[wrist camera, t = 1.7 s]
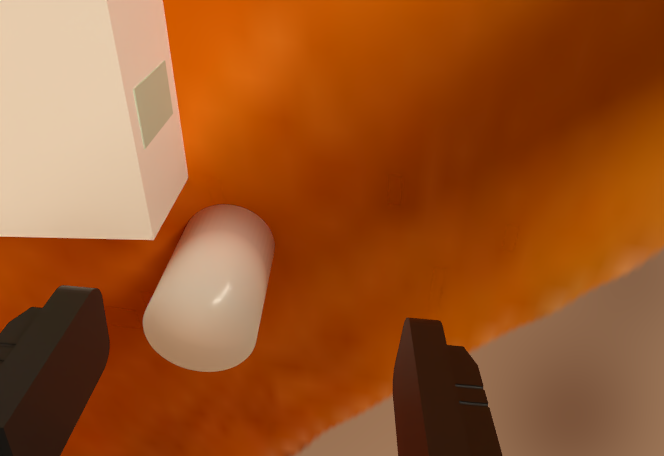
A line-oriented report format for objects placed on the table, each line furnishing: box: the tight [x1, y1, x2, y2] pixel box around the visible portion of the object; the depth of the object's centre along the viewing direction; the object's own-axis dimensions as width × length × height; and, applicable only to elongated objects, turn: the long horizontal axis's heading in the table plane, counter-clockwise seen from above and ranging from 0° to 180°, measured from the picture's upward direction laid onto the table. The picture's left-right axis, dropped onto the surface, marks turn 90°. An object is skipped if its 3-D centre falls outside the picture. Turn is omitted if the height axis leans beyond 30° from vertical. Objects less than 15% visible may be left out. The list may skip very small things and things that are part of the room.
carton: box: [0, 0, 188, 240], centre depth 23 cm, size 8×10×6 cm
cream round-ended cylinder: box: [143, 204, 275, 372], centre depth 27 cm, size 5×5×7 cm
